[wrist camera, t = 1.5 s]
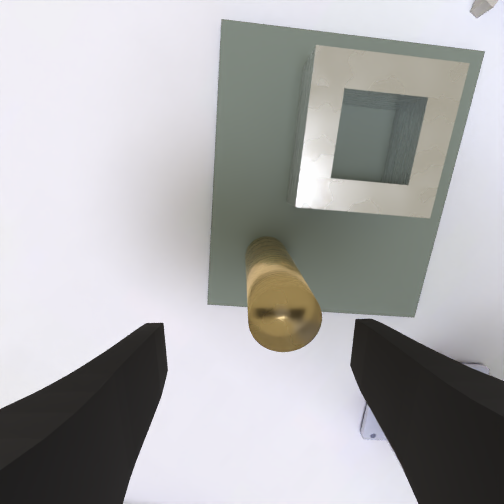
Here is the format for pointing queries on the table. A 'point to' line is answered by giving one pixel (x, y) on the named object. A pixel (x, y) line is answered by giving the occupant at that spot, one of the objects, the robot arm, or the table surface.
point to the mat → (344, 167)
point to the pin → (279, 298)
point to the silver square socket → (402, 136)
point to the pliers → (482, 7)
